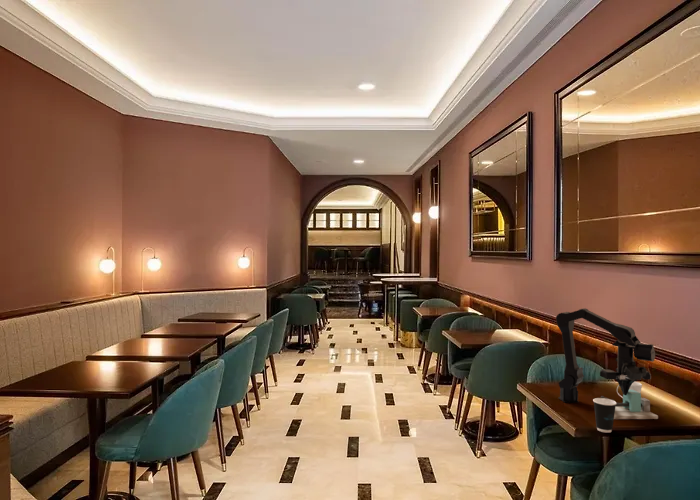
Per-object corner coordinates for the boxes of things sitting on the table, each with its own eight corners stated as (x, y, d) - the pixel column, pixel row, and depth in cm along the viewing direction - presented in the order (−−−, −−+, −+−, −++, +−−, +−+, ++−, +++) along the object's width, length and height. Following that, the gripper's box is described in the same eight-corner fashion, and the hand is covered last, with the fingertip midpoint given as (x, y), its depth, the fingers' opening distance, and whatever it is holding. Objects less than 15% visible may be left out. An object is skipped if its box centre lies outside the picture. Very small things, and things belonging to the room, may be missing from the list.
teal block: (631, 411, 206) (631, 393, 206) (622, 407, 212) (623, 389, 211) (640, 411, 206) (641, 393, 206) (632, 407, 212) (632, 389, 212)
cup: (642, 404, 221) (642, 386, 221) (616, 400, 225) (616, 383, 225) (641, 400, 227) (641, 382, 227) (616, 396, 232) (616, 379, 232)
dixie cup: (611, 435, 183) (611, 405, 183) (589, 429, 189) (589, 400, 189) (619, 430, 188) (620, 401, 188) (597, 424, 194) (598, 396, 194)
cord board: (614, 419, 201) (614, 404, 201) (595, 407, 215) (595, 393, 215) (657, 418, 202) (658, 403, 202) (636, 407, 216) (636, 393, 216)
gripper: (614, 362, 200) (614, 401, 200) (660, 362, 201) (659, 400, 201) (599, 356, 211) (599, 393, 211) (642, 356, 212) (642, 392, 212)
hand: (624, 395), depth 208 cm, fingers closed
